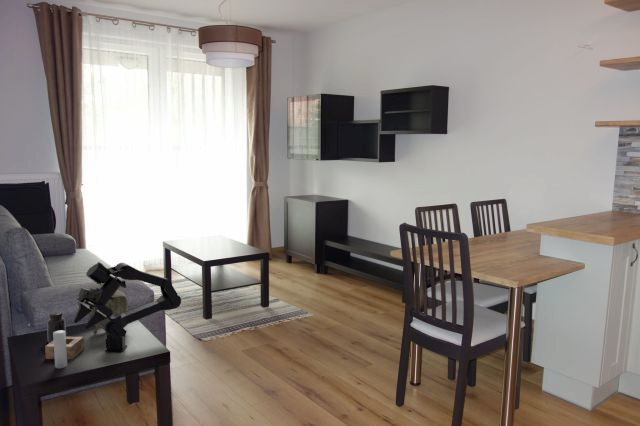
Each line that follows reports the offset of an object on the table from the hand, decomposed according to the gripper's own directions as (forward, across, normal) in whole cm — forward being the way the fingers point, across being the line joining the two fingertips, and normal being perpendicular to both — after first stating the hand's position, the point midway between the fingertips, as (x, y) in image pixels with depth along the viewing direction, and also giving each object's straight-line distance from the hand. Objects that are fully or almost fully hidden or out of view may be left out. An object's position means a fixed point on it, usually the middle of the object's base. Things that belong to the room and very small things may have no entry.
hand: (80, 325), depth 193 cm
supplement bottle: (+9, -26, +11) cm, 30 cm away
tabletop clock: (-5, -19, +24) cm, 31 cm away
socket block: (+11, -10, +8) cm, 17 cm away
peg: (+15, 0, +4) cm, 16 cm away
